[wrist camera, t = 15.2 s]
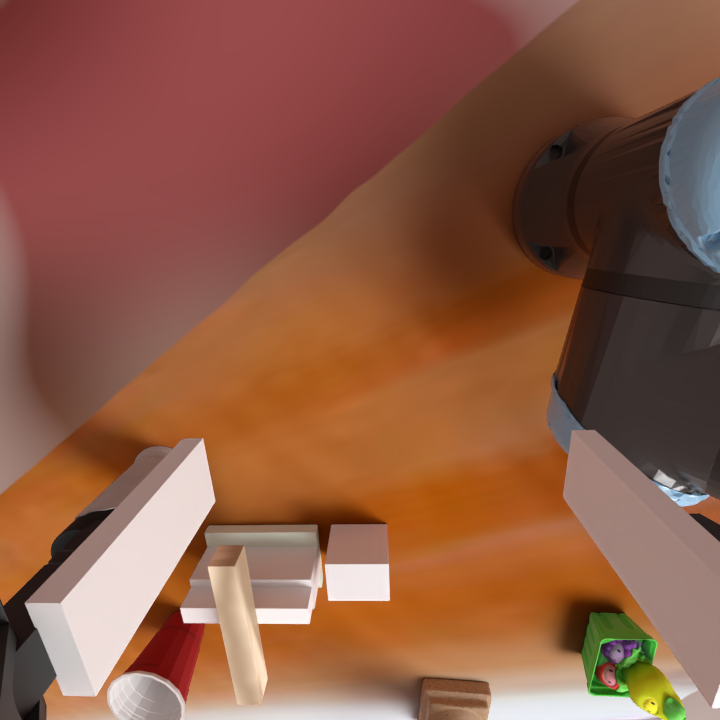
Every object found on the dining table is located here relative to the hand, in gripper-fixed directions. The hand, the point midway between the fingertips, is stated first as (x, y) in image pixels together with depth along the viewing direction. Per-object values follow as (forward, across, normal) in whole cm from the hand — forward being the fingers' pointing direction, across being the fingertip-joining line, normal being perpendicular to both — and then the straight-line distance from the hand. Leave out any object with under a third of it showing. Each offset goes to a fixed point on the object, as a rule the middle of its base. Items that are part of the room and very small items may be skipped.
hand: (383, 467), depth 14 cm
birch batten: (+23, -18, -36) cm, 46 cm away
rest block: (+33, -4, -34) cm, 47 cm away
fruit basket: (+33, +33, -52) cm, 70 cm away
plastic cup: (+33, -33, -50) cm, 68 cm away
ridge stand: (+33, -18, -36) cm, 52 cm away
